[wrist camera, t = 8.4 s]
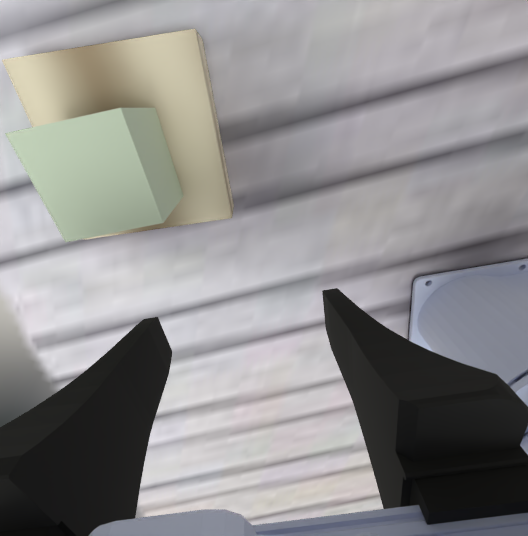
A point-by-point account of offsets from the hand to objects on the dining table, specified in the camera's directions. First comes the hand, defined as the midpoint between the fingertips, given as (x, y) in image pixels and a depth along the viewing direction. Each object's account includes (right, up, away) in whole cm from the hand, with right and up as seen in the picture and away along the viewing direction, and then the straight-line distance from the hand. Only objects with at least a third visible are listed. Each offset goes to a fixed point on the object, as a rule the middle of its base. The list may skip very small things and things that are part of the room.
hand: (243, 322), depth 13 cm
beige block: (-6, +10, +5) cm, 13 cm away
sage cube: (-6, +8, +3) cm, 11 cm away
